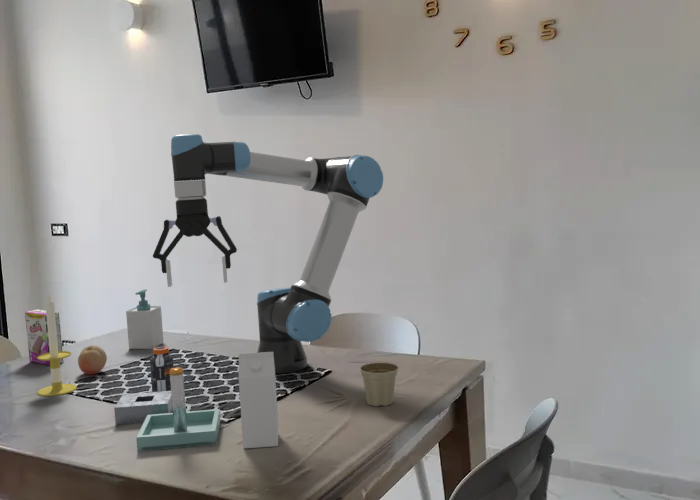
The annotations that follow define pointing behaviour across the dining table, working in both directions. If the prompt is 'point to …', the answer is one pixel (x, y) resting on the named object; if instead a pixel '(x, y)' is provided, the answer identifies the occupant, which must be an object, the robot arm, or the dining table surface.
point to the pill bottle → (161, 369)
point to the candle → (54, 357)
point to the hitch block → (142, 406)
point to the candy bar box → (40, 335)
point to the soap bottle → (144, 325)
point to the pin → (178, 400)
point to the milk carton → (258, 400)
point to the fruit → (92, 360)
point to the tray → (161, 432)
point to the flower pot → (379, 382)
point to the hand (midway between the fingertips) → (197, 284)
